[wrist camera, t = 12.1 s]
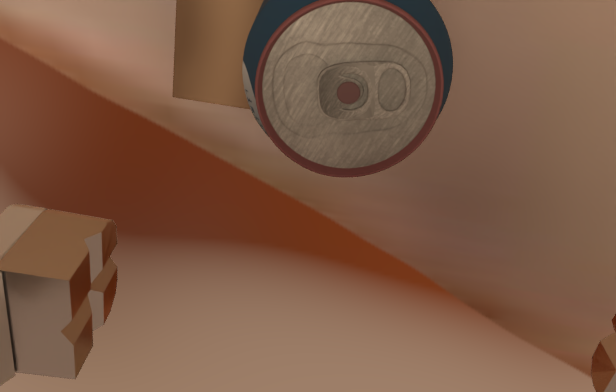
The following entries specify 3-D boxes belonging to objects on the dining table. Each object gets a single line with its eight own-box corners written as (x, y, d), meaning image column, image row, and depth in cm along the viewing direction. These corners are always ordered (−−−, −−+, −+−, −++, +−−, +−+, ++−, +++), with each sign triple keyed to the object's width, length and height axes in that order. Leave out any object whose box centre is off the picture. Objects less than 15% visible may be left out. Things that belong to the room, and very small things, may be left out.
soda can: (274, 81, 30) (247, 198, 19) (261, -66, 26) (219, -20, 16) (409, 74, 29) (456, 190, 19) (414, -75, 26) (475, -34, 15)
